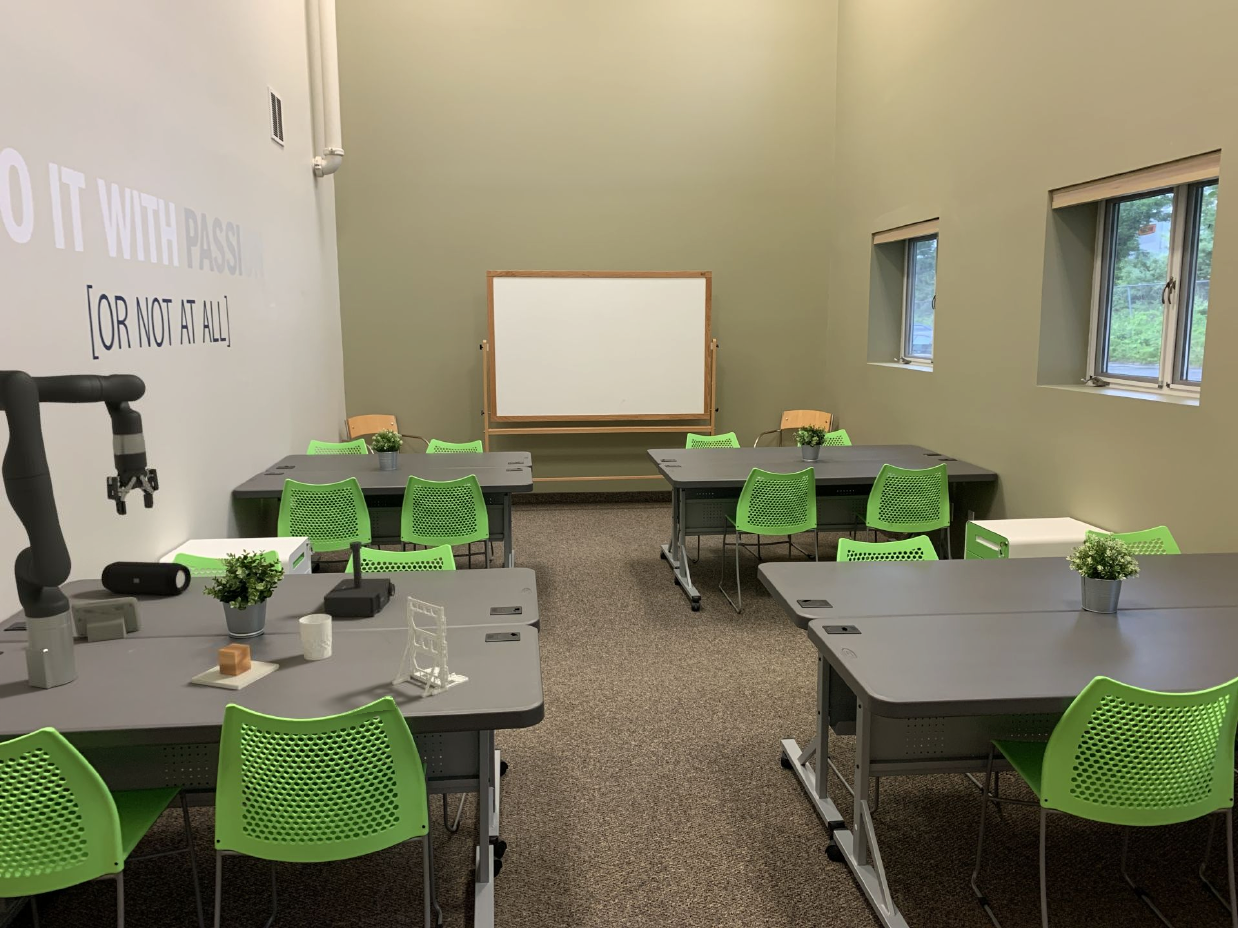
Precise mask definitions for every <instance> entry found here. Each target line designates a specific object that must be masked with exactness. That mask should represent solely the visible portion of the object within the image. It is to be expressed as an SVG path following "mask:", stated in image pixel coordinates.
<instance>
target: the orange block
mask: <svg viewBox="0 0 1238 928" xmlns="http://www.w3.org/2000/svg"><path fill="white" fill-rule="evenodd" d="M250 650H251V649H250V645H249V644H240V643H230V644H228V645H226V646H224V647H222V648H220V649H218V650H217V655H218V665H219V668H220V674H224V675H231V676H238V675H240V674H242V673H244V672H246V671H248V670H250V669H251V661H252V660H251V651H250Z"/></svg>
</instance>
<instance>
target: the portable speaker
mask: <svg viewBox="0 0 1238 928" xmlns="http://www.w3.org/2000/svg"><path fill="white" fill-rule="evenodd" d="M100 578H101V579H100V580H101V584H102V586H103V588H104V589H106V590H107V591H109V592H112V593H115V594H136V595H137V594H140V595H141V594H142V595H167V596H168V595H170V596H171V595H173V596H174V595H178V594H181V593H184V592H186V591H187V590H188V588H190V587H189V586H190V585H191V580H192V574H191V570H190V568H189V567H187V565H184V564H182V563H180V562H179V563H178V562H158V561H157V562H156V561H154V562H153V561H152V562H149V561H115V562H111V563H109V564H107V565H106V566H104V568H103V569H102V572H101V576H100Z"/></svg>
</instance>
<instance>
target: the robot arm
mask: <svg viewBox="0 0 1238 928" xmlns="http://www.w3.org/2000/svg"><path fill="white" fill-rule="evenodd" d="M145 384H146V383H145V382H144V380H143V378H141V377H140V376H137V375H135V374H129V373H128V374H127V373H126V374H125V373H124V374H123V373H122V374H121V373H120V374H119V373H118V374H117V373H116V374H115V373H113V374H107V375H101V374H65V375H64V374H63V375H48V376H31V375H30V374H29V373H28V372H26V371H23V370H17V369H16V370H15V369H10V370H7V369H5V370H3V369H2V370H0V412H4V413H5V417H6V421H7V425H8V427H7V428H8V431H9V433H8V435H9V436H8V442H7V447H6V449H5V453H4V455H3V456H4V457H3V460H2V466H1V473H2V476H1V477H2V479H3V480H2V481H3V484H4V490H5V494H6V497H7V500H8V502H9V505H10V506H11V508H12V510H13V511H14V513H15V514H16V516H17V517H18V519H19V520H20V523H21V524H22V526H23V528H24V530H25V531H26V534H27V537H28V541H29V546H27V547H24V549H22V550H21V551H20V552H19V553H18V554H17V556H16V557H15V562H14V566H13V567H14V569H13V571H14V572H13V573H14V579H15V585H16V589H17V596H18V600H19V603H20V605H21V607H22V610H23V613H24V618H25V626H26V627H25V628H26V635H27V636H26V637H27V643H28V646H26V647H25V648H24V653H25V661H26V669H27V677H28V685H29V686H30V687H35V688H44V689H51V688H54V687H58V686H62V685H65V684H68V683H71V682H72V681H74V680H76V679H77V678H78V676H79V675H78V669H77V668H78V667H77V661H76V660H77V659H76V658H77V657H76V649H75V643H74V631H73V625H72V615H71V614H72V613H71V608H70V607H71V606H70V600H69V597H67V596H66V595H65V593H63V591H62V590H61V588H60V586H62V584H64V583H65V582H67V580H68V579H69V577H70V575H71V570H72V560H71V555H70V553H69V550H68V547H67V543H66V541H65V537H64V534H63V531H62V528H61V525H60V520H59V513H58V510H57V505H56V504H57V503H56V500H55V494H54V489H53V482H52V477H51V471H50V467H49V463H48V459H47V454H46V447H45V442H44V437H43V431H42V422H41V421H42V420H41V408H40V405H41V403H50V404H52V403H55V404H56V403H60V404H87V403H88V404H92V403H93V404H94V403H103V402H104V405H105V407H106V410H107V412H108V414H109V417H110V420H111V430H112V450H113V460H114V468H115V470H116V471H117V473H116V475H115V476H107V477H106V493H107V495H106V496H107V499H108V500H110V501H111V500H113V501H114V502H115V507H116V512H117V514H118V515H119V516H125V515H127V506H126V505H127V504H126V500H125V499H126V497H127V495H128V494H129V493H130V491H132V490H136V489H140V491H141V492H142V493H143V495H142V497H143V506H144V508H145V509H152V508H153V506H154V503H155V502H154V493H155V492H156V491H158V490H160V489H159V488H160V487H159V481H158V480H159V479H158V472H157V469H156V468H147V467H148V461H147V460H148V459H147V451H146V450H147V449H146V440H145V436H144V431H143V430H144V428H143V420H142V419H143V418H142V415H141V412H139V411H137V410H134V409H133V408H131V405H130V403H131V402H132V403H133V402H137V401H139V400H140V399H141V398H143V396H144V395H145V393H146V390H147V389H146V385H145ZM129 402H130V403H129Z"/></svg>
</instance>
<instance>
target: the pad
mask: <svg viewBox="0 0 1238 928" xmlns="http://www.w3.org/2000/svg"><path fill="white" fill-rule="evenodd" d="M279 669H280V665H279V664H278V663H271V662H262V661H259V660H257V661H256V660H251V669H250V670H248V671H246V672H244V673H242V674H240V675H238V676H231V675H224V674H220V668H219V664H218V665H216V666H215V667H212V668H210V669H209V670H206V671H204V672H202V673H200V674H199V675H198V674H197V675H196V676H194V677H192V678H191V683H192V684H199V685H203V686H204V685H205V686H210V687H217V688H225V689H232V690H242V689H243V688H245V687H246V686H249V685H250V684H252V683H254V682H256V681H257V680H259V679H261V678H263V677H265V676H267V675H269V674H271V673H273V672H275V671H276V670H279Z"/></svg>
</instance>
